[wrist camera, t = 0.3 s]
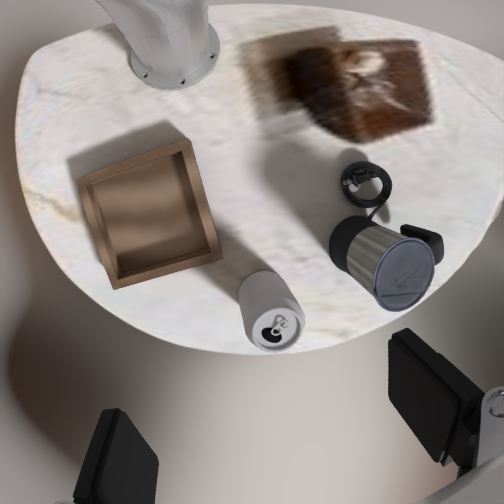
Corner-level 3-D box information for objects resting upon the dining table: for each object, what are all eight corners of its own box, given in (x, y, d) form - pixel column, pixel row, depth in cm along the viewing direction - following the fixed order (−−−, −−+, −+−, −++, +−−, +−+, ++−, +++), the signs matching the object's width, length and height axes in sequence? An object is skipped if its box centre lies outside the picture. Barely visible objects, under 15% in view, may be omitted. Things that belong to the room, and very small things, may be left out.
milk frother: (344, 283, 48) (390, 326, 34) (292, 203, 43) (330, 222, 29) (408, 232, 47) (466, 257, 33) (365, 151, 42) (425, 149, 28)
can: (227, 297, 46) (233, 339, 34) (258, 259, 45) (274, 291, 33) (265, 322, 48) (281, 366, 36) (296, 286, 47) (321, 323, 35)
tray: (87, 178, 38) (75, 179, 34) (190, 141, 39) (188, 138, 35) (121, 279, 43) (113, 290, 39) (221, 250, 44) (222, 258, 40)
